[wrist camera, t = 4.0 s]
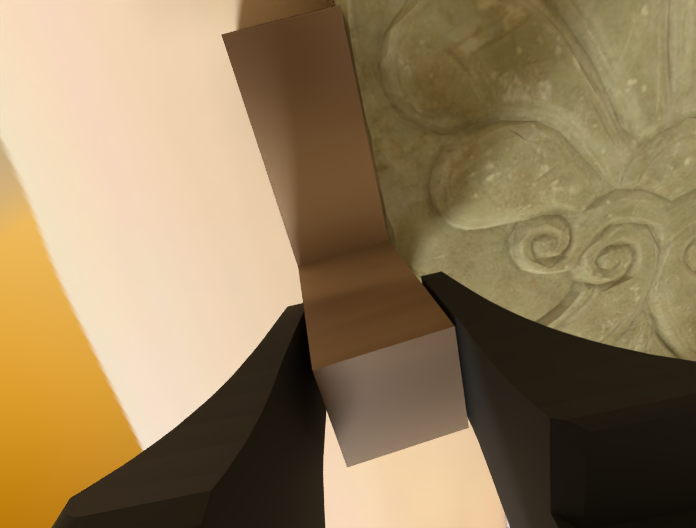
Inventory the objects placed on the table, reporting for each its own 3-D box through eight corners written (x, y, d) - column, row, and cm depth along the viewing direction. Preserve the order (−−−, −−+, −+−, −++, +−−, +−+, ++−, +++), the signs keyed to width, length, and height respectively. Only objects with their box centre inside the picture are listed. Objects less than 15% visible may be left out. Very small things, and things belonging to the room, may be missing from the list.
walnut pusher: (407, 390, 19) (487, 570, 12) (350, 408, 19) (396, 603, 12) (325, 24, 12) (399, -78, 5) (233, 48, 12) (170, -22, 5)
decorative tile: (413, 383, 20) (430, 442, 16) (299, -130, 11) (287, -217, 8) (791, 302, 18) (889, 348, 15) (999, -348, 10) (1327, -557, 7)
